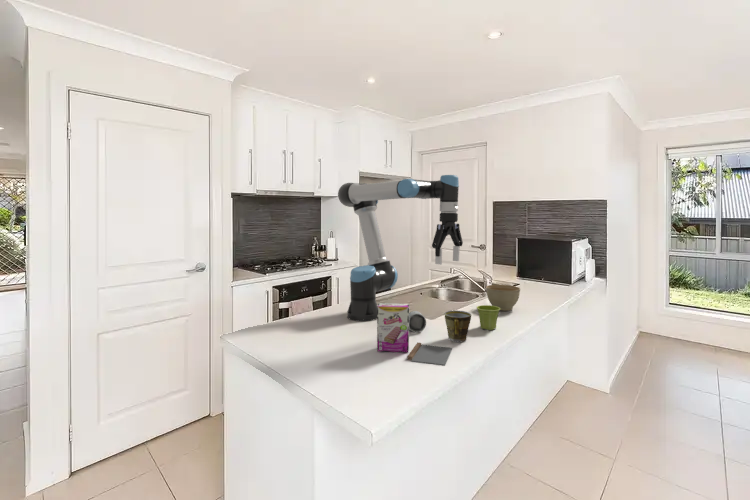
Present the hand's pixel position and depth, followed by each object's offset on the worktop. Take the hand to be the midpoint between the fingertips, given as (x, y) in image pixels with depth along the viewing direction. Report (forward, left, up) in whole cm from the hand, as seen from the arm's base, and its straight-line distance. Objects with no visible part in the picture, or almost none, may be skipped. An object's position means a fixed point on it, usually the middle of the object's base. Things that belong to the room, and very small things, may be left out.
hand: (447, 262), depth 161 cm
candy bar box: (-13, -37, -27) cm, 48 cm away
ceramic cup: (+7, -20, -27) cm, 34 cm away
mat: (+1, -37, -27) cm, 46 cm away
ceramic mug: (-12, -12, -27) cm, 32 cm away
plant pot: (+17, 0, -27) cm, 32 cm away
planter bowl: (+22, +35, -27) cm, 50 cm away
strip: (-5, -37, -27) cm, 46 cm away
